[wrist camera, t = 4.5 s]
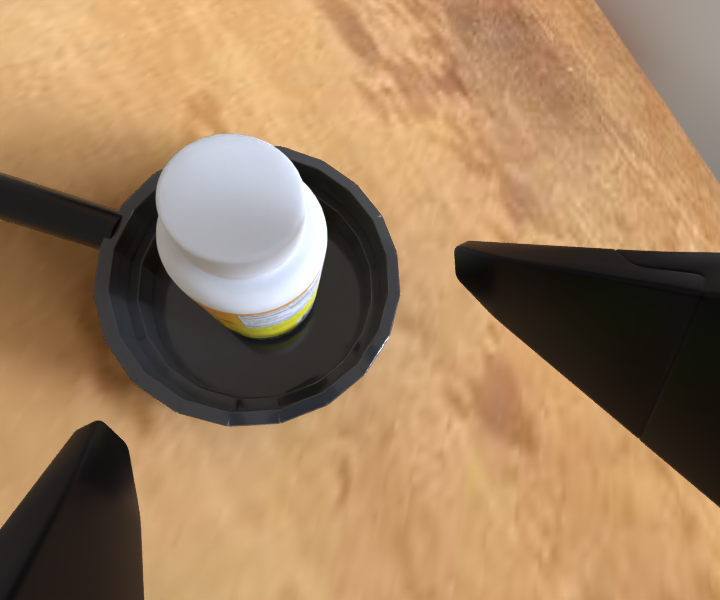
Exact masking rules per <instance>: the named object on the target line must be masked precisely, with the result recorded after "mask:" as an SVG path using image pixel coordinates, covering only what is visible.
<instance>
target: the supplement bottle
mask: <svg viewBox="0 0 720 600" xmlns="http://www.w3.org/2000/svg"><path fill="white" fill-rule="evenodd" d="M156 207H157V211H158V220H157V226H156V242H157V248H158V252H159V256H160V258H161V261H162V263H163V265H164V268H165V269H166V271H167V273H168V275H169V276H170V277H171V278H172V280H173V281H174V282H175V283H176V285H177V286H178V287H179V288H180V289H181V290H182V291H183V292H184V293H186V294H187V295H188V296H189V297H190V298H191V299H193V300H194V301H195V302H196V303H198V304H199V305H200V306H201V307H202V308H203V309H205V310H206V311H207V312H208V313H209V314H211V315H212V316H213V317H214V318H215V319H217V320H218V321H219V322H220V323H221V324H222V325H224V326H225V327H226V328H228V329H229V330H231V331H232V332H234V333H236V334H238V335H240V336H243V337H246V338H250V339H258V340H265V339H273V338H277V337H280V336H283V335H285V334H287V333H289V332H291V331H292V330H294V329H295V328H297V327H298V326H299V325H300V324H301V323H302V322H303V321H304V320H305V319H306V317H307V316H308V314H309V313H310V311H311V309H312V307H313V304H314V301H315V298H316V294H317V289H318V285H319V280H320V276H321V271H322V267H323V263H324V258H325V253H326V247H327V227H326V221H325V217H324V214H323V211H322V208H321V206H320V204H319V202H318V200H317V199H316V197H315V195H314V194H313V193H312V191H311V190H310V189H309V187H308V186H307V185H306V184H305V183H304V182H303V181H302V179H301V177H300V175H299V172H298V171H297V169H296V168H295V166H294V165H293V163H292V162H291V161H290V160H289V159H288V157H287V156H285V155H284V154H283V153H282V152H281V151H280V150H278V149H277V148H276V147H274V146H272V145H271V144H269V143H267V142H265V141H262V140H260V139H257V138H254V137H251V136H247V135H241V134H218V135H212V136H207V137H204V138H201V139H198V140H196V141H194V142H192V143H190V144H188V145H186V146H185V147H183V148H182V149H180V150H179V151H178V152H177V153H176V154H175V155H174V156H173V157H172V158H171V159H170V160H169V161H168V163H167V164H166V165H165V167H164V169H163V171H162V172H161V175H160V177H159V180H158V183H157V188H156Z"/></svg>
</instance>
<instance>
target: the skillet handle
mask: <svg viewBox="0 0 720 600" xmlns="http://www.w3.org/2000/svg"><path fill="white" fill-rule="evenodd" d="M117 212H118V210H117V209H114V208H111V207H108V206H105V205H102V204H99V203H95V202H92V201H89V200H86V199H83V198H80V197H76V196H73V195H70V194H67V193H64V192H61V191H58V190H54V189H51V188H48V187H45V186H42V185H39V184H36V183H32V182H29V181H26V180H23V179H20V178H17V177H14V176H10V175H7V174H4V173H1V172H0V220H3V221H6V222H10V223H13V224H16V225H19V226H23V227H26V228H29V229H33V230H36V231H39V232H42V233H46V234H49V235H52V236H55V237H59V238H62V239H65V240H68V241H72V242H75V243H78V244H82V245H85V246H88V247H91V248H95V249H98V250H99V248H100V245H101V243H102V241H103V239H104V238H107V239H111V238H112V236H113V234H114V232H115V230H116V228H117V226H118V224H119V222H120V221H121V219H122V215H120V214H117Z"/></svg>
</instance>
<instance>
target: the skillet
mask: <svg viewBox="0 0 720 600" xmlns="http://www.w3.org/2000/svg"><path fill="white" fill-rule="evenodd" d="M274 147H276V148H277V149H278V150H280V151H281V152H282V153H283V154H284V155H285V156H287V157H288V159H289V160H290V161H291V162H292V163H293V165H294V166H295V168H296V169H297V171H298V172H299V175H300V177H301V179H302V181H303V182H304V183H305V184H306V185H307V186H308V187H309V189H310V190H311V191H312V193H313V194H314V195H315V197H316V199H317V200H318V202H319V204H320V206H321V208H322V211H323V214H324V217H325V221H326V227H327V247H326V253H325V258H324V263H323V267H322V271H321V276H320V280H319V285H318V289H317V294H316V298H315V301H314V304H313V307H312V309H311V311H310V313H309V314H308V316H307V317H306V319H305V320H304V321H303V322H302V323H301V324H300V325H299V326H298V327H297V328H295V329H294V330H292V331H291V332H289V333H287V334H285V335H283V336H280V337H277V338H273V339H265V340H258V339H250V338H246V337H243V336H240V335H238V334H236V333H234V332H232V331H231V330H229V329H228V328H226V327H225V326H224V325H222V324H221V323H220V322H219V321H218V320H217V319H215V318H214V317H213V316H212V315H211V314H209V313H208V312H207V311H206V310H205V309H203V308H202V307H201V306H200V305H199V304H198V303H196V302H195V301H194V300H193V299H191V298H190V297H189V296H188V295H187V294H186V293H184V292H183V291H182V290H181V289H180V288H179V287H178V286H177V285H176V283H175V282H174V281H173V280H172V278H171V277H170V276H169V275H168V273H167V271H166V269H165V268H164V265H163V263H162V261H161V258H160V256H159V252H158V248H157V242H156V226H157V220H158V211H157V207H156V188H157V183H158V180H159V177H160V175H161V172H162V171H163V169H162V170H160V171H158V172H156V173H155V174H153V175H152V176H151V177H150V178H149V179H148V180H147V181H146V182H145V183H144V184H143V185H142V186H141V187H140V188H139V189H138V190H137V191H136V192H135V193H133V194H132V195H131V196H130V197H129V198H128V199H127V200H126V201H125V202H124V203H123V204H122V206H121V207H120V209H119V210H118V212H117V214H120V215H122V219H121V221H120V222H119V224H118V226H117V228H116V230H115V232H114V234H113V236H112V238H111V239H107V238H104V239H103V241H102V243H101V245H100V248H99V255H98V263H97V270H96V278H95V286H94V299H95V303H96V307H97V311H98V316H99V320H100V324H101V328H102V332H103V336H104V340H105V341H106V344H107V346H108V347H109V348H110V350H111V351H112V353H113V354H114V356H115V357H116V358H117V360H118V361H119V363H120V364H121V366H122V367H123V369H124V370H125V371H126V373H127V374H128V376H129V377H130V379H131V380H132V381H133V382H134V383H135V384H136V385H137V386H138V387H140V388H141V389H143V390H144V391H146V392H147V393H149V394H150V395H152V396H153V397H154V398H156V399H157V400H159V401H160V402H162V403H163V404H165V405H166V406H167V407H169V408H170V409H172V410H173V411H175V412H178V413H179V414H183V415H186V416H190V417H194V418H198V419H201V420H205V421H209V422H212V423H216V424H220V425H224V426H230V427H232V426H249V425H265V424H279V423H280V422H281V423H283V422H286V421H289V420H291V419H294V418H296V417H299V416H301V415H304V414H306V413H309V412H311V411H314V410H317V409H319V408H322V407H324V406H327V405H328V404H330V403H331V402H332V401H334V400H335V399H336V398H337V397H338V396H340V395H341V394H342V393H343V392H345V391H346V390H347V389H348V388H349V387H351V386H352V385H353V384H354V383H355V382H357V381H358V380H359V379H360V378H362V377H363V376H364V375H365V373H367V371H368V369H369V368H370V366H371V365H372V363H373V362H374V360H375V358H376V357H377V355H378V354H379V352H380V351H381V349H382V347H383V346H384V344H385V343H386V341H387V340H388V338H389V336H390V333H391V329H392V326H393V322H394V318H395V314H396V310H397V306H398V302H399V298H400V285H399V271H398V257H397V252H396V249H395V247H394V244H393V242H392V239H391V237H390V234H389V232H388V229H387V227H386V224H385V222H384V219H383V217H382V215H381V214H380V213H379V211H378V210H377V209H376V208H375V206H374V205H373V204H372V203H371V201H370V200H369V199H368V198H367V196H366V195H365V194H364V193H363V192H362V190H361V189H360V188H359V187H358V185H356V183H354V182H353V181H351V180H350V179H348V178H347V177H346V176H344V175H343V174H341V173H340V172H338V171H337V170H335V169H334V168H333V167H331V166H330V165H328V164H327V163H325V162H324V161H322V160H319V159H317V158H314V157H311V156H308V155H305V154H302V153H299V152H297V151H294V150H291V149H288V148H285V147H281V146H274Z"/></svg>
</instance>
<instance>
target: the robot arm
mask: <svg viewBox="0 0 720 600" xmlns="http://www.w3.org/2000/svg"><path fill="white" fill-rule="evenodd" d="M454 256H455V272H456V276H457V278H458V280H459V281H460V282H461V283H462V284H463V285H464V286H465V288H466V289H467V290H468V291H469V292H470V293H471V294H472V295H473V296H474V297H475V298H476V299H477V300H478V301H479V302H480V303H481V304H482V305H483V306H484V307H485V308H486V309H487V310H488V312H490V313H491V314H492V315H493V316H494V317H495V318H496V319H497V320H498V321H499V322H500V323H501V324H503V325H504V326H505V327H506V328H507V329H509V330H510V331H511V332H512V333H513V334H515V335H516V336H517V337H518V338H519V339H520V340H522V341H523V342H524V343H525V344H526V345H528V346H529V347H530V348H531V349H532V350H534V351H535V352H536V353H537V354H538V355H539V356H541V357H542V358H543V359H544V360H545V361H547V362H548V363H549V364H550V365H551V366H553V367H554V368H555V369H556V370H557V371H558V372H560V373H561V374H562V375H563V376H564V377H566V378H567V379H568V380H569V381H570V382H572V383H573V384H574V385H575V386H576V387H578V388H579V389H580V390H581V391H582V392H583V393H585V394H586V395H587V396H588V397H589V398H591V399H592V400H593V401H594V402H595V403H597V404H598V405H599V406H600V407H601V408H602V409H604V410H605V411H606V412H607V413H608V414H610V415H611V416H612V417H613V418H614V419H616V420H617V421H618V422H619V423H620V424H621V425H623V426H624V427H625V428H626V429H627V430H629V431H630V432H631V433H632V434H633V435H635V436H636V437H637V438H640V441H641V442H643V443H644V444H645V445H646V446H647V447H648V448H650V449H651V450H652V451H653V452H654V453H656V454H657V455H658V456H659V457H660V458H662V459H663V460H664V461H665V462H666V463H668V464H669V465H670V466H671V467H672V468H673V469H675V470H676V471H677V472H678V473H679V474H681V475H682V476H683V477H684V478H685V479H687V480H688V481H689V482H690V483H691V484H692V485H694V486H695V487H696V488H697V489H698V490H700V491H701V492H702V493H703V494H704V495H706V496H707V497H708V498H709V499H710V500H711V501H713V502H714V503H715V504H716V505H717V506H719V507H720V253H710V252H661V251H639V250H621V249H617V250H616V251H615V250H614V249H602V248H585V247H568V246H550V245H533V244H516V243H498V242H481V241H467V242H465V243H463V244H461V245H459V246H457V247H456V248H455V251H454ZM0 600H144V585H143V562H142V539H141V521H140V512H139V505H138V500H137V494H136V488H135V483H134V477H133V471H132V466H131V460H130V454H129V450H128V447H127V445H126V443H125V442H124V441H123V440H122V439H121V438H120V437H119V436H118V435H117V434H116V433H115V432H114V431H113V430H112V429H110V428H109V427H108V426H107V425H106V424H105V423H104V422H102V421H94V422H92V423H90V424H88V425H86V426H84V427H82V428H80V429H78V430H76V431H75V432H74V433H73V435H72V436H71V437H70V439H69V440H68V441H67V443H66V444H65V445H64V446H63V448H62V449H61V450H60V452H59V453H58V454H57V456H56V457H55V458H54V460H53V461H52V462H51V464H50V465H49V466H48V467H47V469H46V470H45V471H44V473H43V474H42V475H41V477H40V478H39V479H38V481H37V482H36V483H35V485H34V486H33V487H32V488H31V490H30V491H29V492H28V494H27V495H26V496H25V498H24V499H23V500H22V502H21V503H20V504H19V505H18V507H17V508H16V509H15V511H14V512H13V513H12V515H11V516H10V517H9V519H8V520H7V521H6V523H5V524H4V525H3V526H2V528H1V529H0Z"/></svg>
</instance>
